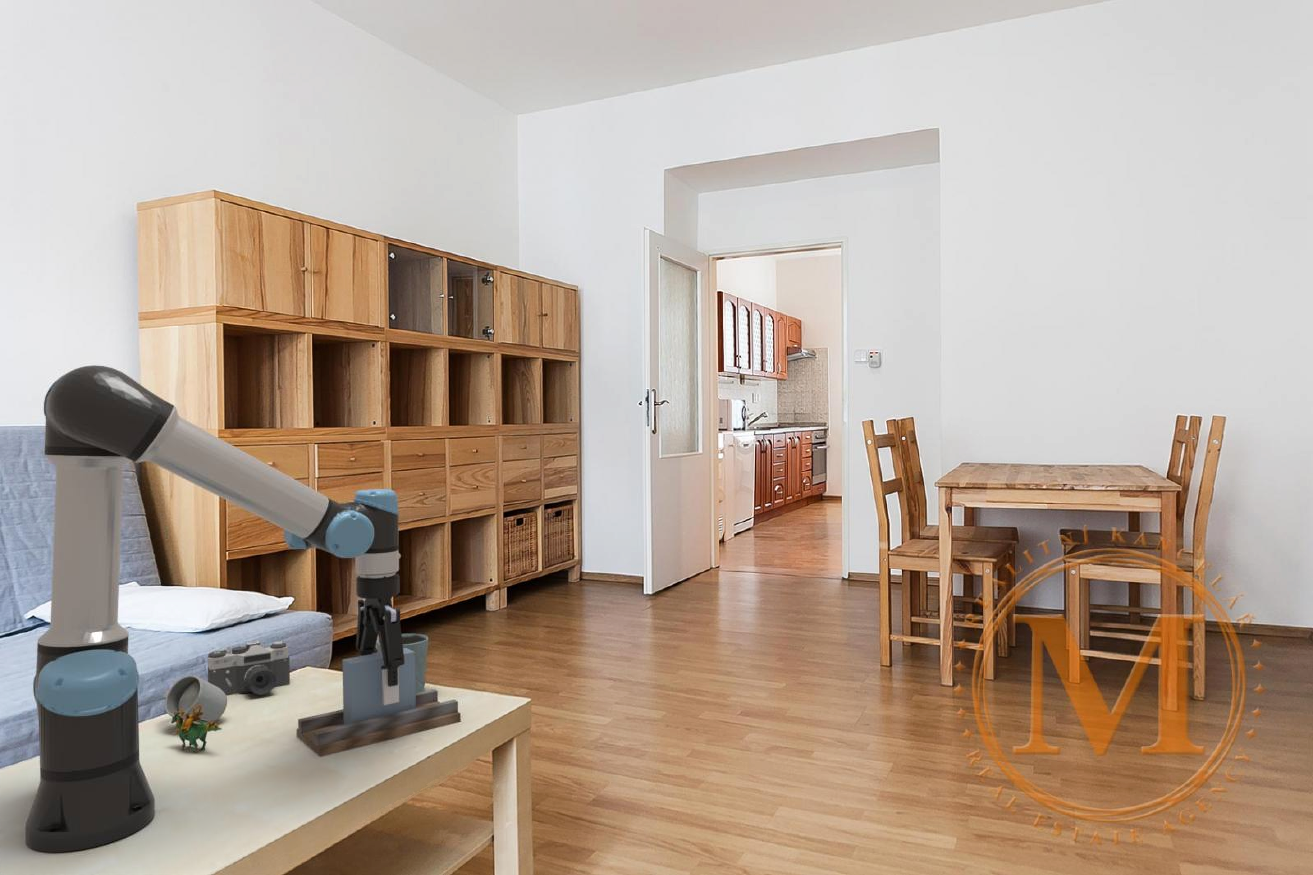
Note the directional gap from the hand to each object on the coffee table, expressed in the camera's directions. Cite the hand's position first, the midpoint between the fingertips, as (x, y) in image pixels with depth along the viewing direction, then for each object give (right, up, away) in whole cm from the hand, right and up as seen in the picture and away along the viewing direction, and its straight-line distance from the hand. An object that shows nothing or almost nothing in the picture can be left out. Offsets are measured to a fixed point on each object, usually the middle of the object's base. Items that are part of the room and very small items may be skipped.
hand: (380, 696), depth 160 cm
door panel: (0, -5, 0) cm, 5 cm away
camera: (-33, -6, +22) cm, 40 cm away
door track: (0, -6, 0) cm, 6 cm away
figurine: (-28, -7, -10) cm, 31 cm away
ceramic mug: (-36, -7, +3) cm, 37 cm away
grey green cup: (-1, -6, +19) cm, 20 cm away
